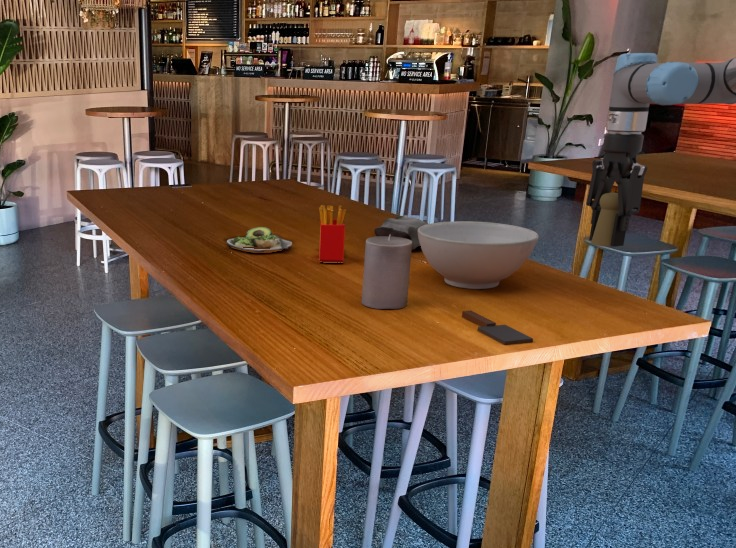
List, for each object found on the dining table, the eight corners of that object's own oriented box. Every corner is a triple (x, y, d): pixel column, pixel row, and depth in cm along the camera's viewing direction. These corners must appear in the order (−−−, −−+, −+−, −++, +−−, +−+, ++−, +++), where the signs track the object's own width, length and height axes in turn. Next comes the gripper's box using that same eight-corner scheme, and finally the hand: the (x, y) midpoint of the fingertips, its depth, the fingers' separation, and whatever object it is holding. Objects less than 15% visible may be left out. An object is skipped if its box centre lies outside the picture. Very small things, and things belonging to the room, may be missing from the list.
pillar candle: (378, 295, 177) (383, 228, 171) (416, 303, 170) (422, 234, 165) (352, 303, 171) (356, 234, 165) (389, 313, 164) (395, 241, 159)
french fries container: (317, 264, 206) (319, 209, 200) (316, 256, 214) (318, 204, 209) (344, 264, 205) (347, 210, 200) (343, 256, 213) (345, 204, 208)
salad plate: (309, 250, 220) (310, 234, 219) (257, 258, 212) (257, 241, 210) (269, 239, 236) (270, 223, 234) (219, 246, 227) (218, 230, 225)
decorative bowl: (543, 278, 191) (551, 228, 186) (513, 304, 170) (521, 248, 166) (435, 264, 205) (440, 217, 200) (396, 286, 184) (400, 235, 179)
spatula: (532, 342, 146) (533, 335, 146) (504, 344, 145) (505, 338, 145) (478, 315, 163) (479, 309, 162) (452, 317, 161) (453, 311, 161)
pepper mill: (584, 242, 176) (592, 191, 172) (606, 240, 178) (615, 190, 174) (604, 247, 170) (613, 195, 167) (627, 245, 172) (636, 194, 168)
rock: (367, 241, 232) (369, 214, 229) (401, 239, 235) (403, 212, 232) (399, 254, 216) (401, 225, 213) (435, 252, 219) (438, 223, 216)
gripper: (578, 130, 173) (563, 236, 182) (643, 136, 156) (622, 252, 164) (607, 130, 175) (590, 234, 183) (674, 135, 158) (652, 250, 166)
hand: (605, 242), depth 174 cm, fingers closed on pepper mill, 6 cm apart
